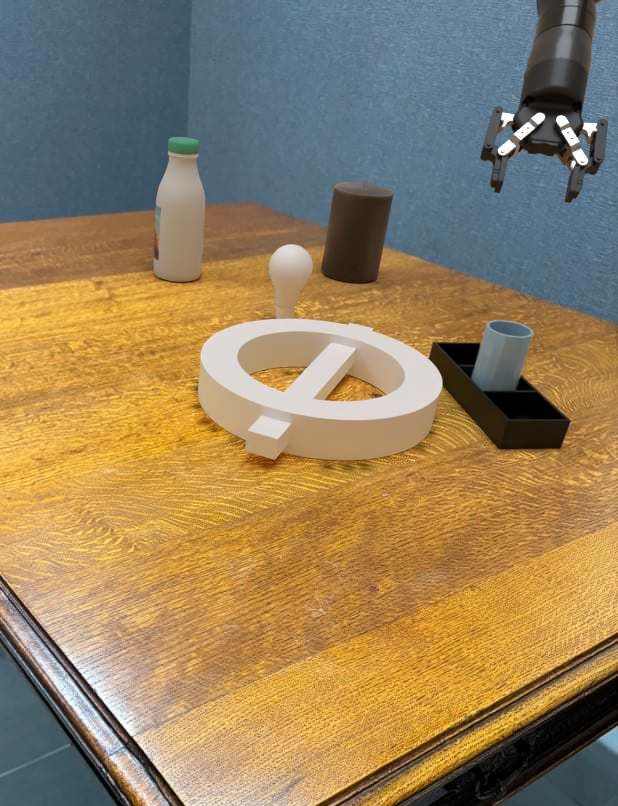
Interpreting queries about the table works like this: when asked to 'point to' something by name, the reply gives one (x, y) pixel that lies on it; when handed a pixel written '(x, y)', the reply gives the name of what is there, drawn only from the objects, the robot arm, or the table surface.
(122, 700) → the table surface
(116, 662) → the table surface
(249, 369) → the ring with crossbar
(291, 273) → the lightbulb
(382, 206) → the pillar candle
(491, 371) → the cup
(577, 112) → the robot arm
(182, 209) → the milk bottle
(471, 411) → the rack
